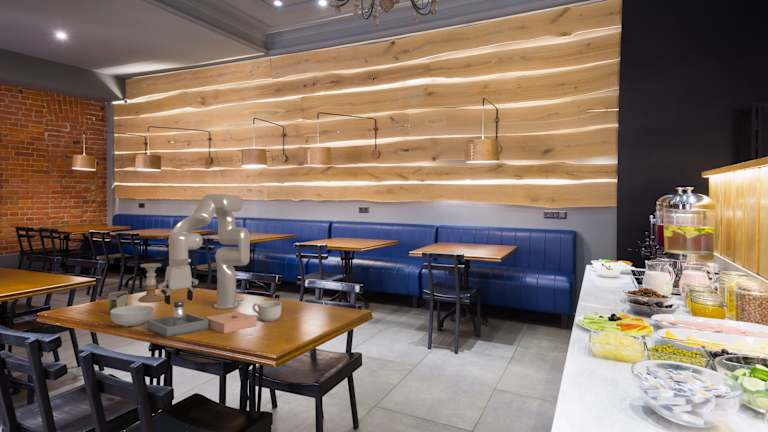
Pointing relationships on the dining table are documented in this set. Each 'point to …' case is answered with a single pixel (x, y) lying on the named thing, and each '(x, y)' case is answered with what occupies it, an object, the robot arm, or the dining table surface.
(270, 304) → the teacup
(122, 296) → the food container
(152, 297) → the candle holder
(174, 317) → the pin
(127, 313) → the cereal bowl
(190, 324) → the tray
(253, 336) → the dining table surface
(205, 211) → the robot arm
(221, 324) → the hitch block
